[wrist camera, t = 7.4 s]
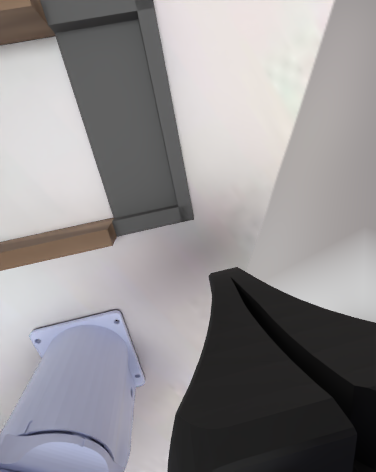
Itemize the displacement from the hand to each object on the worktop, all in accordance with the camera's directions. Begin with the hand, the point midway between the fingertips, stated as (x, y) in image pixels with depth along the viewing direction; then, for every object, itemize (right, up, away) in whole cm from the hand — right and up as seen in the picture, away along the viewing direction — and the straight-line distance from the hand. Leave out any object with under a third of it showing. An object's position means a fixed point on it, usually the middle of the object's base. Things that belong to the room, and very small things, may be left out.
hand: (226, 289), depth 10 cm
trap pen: (-6, +10, +6) cm, 13 cm away
